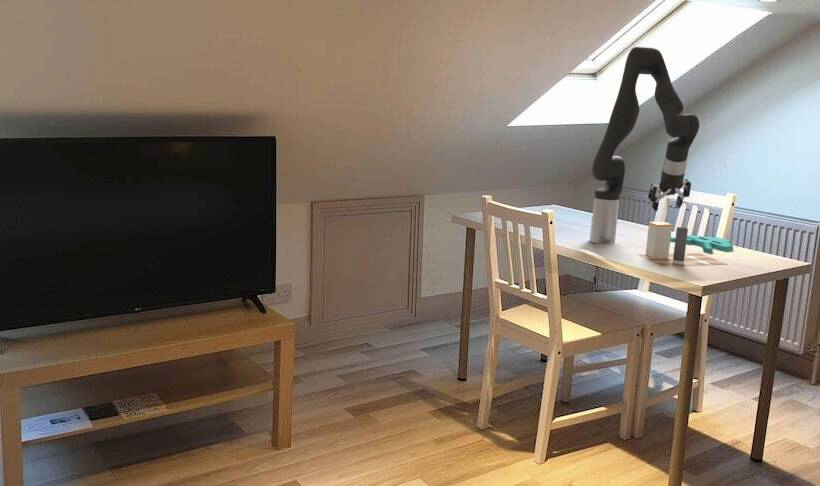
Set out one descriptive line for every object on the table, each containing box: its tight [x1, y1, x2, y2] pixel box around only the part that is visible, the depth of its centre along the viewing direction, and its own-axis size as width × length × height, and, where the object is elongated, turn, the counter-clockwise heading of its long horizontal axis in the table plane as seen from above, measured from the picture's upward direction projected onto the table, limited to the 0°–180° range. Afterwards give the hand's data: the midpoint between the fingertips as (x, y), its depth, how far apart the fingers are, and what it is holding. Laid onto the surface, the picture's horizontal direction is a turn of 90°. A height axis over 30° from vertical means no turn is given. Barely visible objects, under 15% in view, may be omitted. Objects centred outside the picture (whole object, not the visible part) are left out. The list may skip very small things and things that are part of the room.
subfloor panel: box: [636, 252, 729, 268], centre depth 285 cm, size 17×25×2 cm
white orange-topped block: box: [645, 221, 673, 258], centre depth 287 cm, size 5×6×12 cm
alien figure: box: [670, 234, 734, 254], centre depth 316 cm, size 20×2×20 cm
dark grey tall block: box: [672, 226, 689, 267], centre depth 276 cm, size 4×4×12 cm
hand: (666, 208), depth 287 cm, fingers open, 8 cm apart
